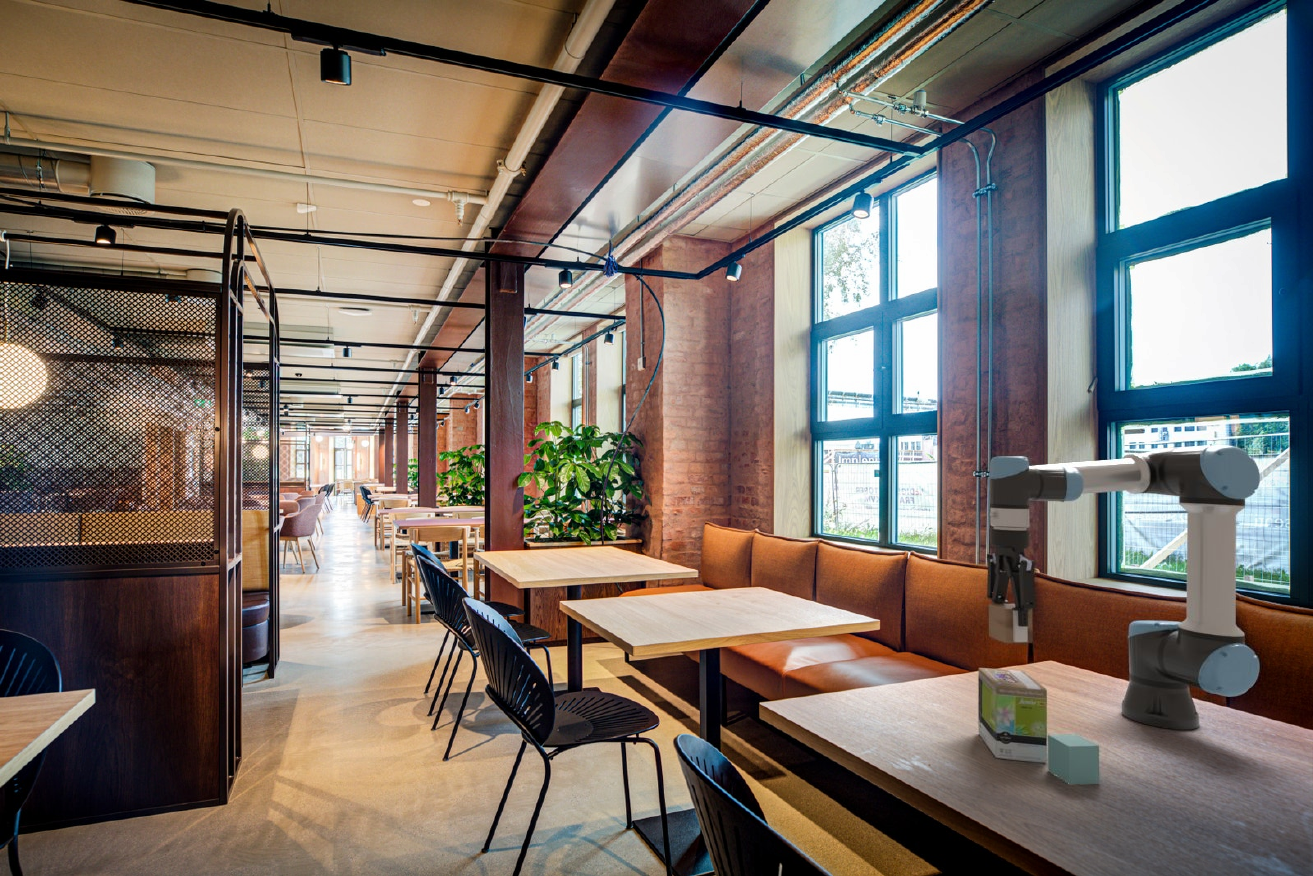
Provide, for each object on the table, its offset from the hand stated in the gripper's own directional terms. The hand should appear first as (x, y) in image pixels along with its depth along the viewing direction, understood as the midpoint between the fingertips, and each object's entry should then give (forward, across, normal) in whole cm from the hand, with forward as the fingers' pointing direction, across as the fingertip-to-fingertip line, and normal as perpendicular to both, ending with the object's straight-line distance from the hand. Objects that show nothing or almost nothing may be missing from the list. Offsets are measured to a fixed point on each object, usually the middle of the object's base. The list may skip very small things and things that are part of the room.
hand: (1010, 637), depth 150 cm
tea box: (+23, 0, 0) cm, 23 cm away
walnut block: (0, 0, 0) cm, 0 cm away
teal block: (+23, +15, +3) cm, 27 cm away
